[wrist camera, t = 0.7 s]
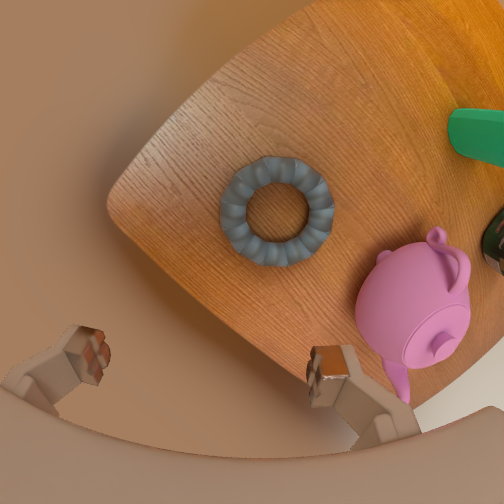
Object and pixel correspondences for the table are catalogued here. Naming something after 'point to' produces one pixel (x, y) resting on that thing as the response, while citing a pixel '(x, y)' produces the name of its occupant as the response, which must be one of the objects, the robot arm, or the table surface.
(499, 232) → the coffee jar
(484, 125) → the candle
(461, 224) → the table surface
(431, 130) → the table surface
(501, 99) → the table surface
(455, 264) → the teapot
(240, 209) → the ring
